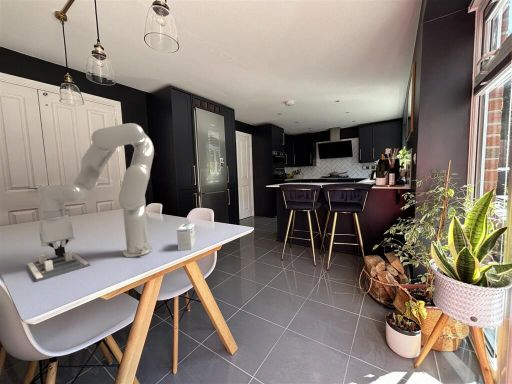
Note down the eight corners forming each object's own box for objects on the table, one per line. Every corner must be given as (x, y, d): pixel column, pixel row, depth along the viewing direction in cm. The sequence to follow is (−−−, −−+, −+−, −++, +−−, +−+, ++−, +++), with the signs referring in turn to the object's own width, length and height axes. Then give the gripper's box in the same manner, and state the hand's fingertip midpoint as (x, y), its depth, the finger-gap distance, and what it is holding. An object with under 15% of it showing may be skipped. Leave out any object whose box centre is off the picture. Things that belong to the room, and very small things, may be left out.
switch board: (89, 265, 91) (89, 261, 91) (36, 281, 79) (35, 277, 78) (73, 254, 106) (73, 250, 106) (26, 266, 93) (26, 262, 93)
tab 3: (72, 260, 95) (71, 252, 95) (66, 261, 93) (65, 253, 93) (70, 258, 96) (69, 251, 96) (65, 260, 95) (64, 252, 95)
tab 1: (47, 262, 93) (46, 255, 93) (40, 264, 91) (39, 256, 91) (46, 261, 94) (44, 253, 94) (39, 263, 93) (38, 255, 92)
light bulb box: (183, 243, 116) (181, 224, 115) (196, 242, 116) (194, 223, 115) (177, 250, 105) (176, 229, 104) (191, 249, 106) (190, 228, 105)
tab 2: (53, 269, 86) (52, 261, 85) (46, 271, 84) (45, 263, 84) (52, 268, 87) (51, 259, 87) (45, 270, 86) (44, 261, 85)
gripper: (74, 210, 99) (79, 249, 101) (27, 217, 87) (34, 260, 89) (79, 211, 94) (84, 252, 96) (30, 219, 83) (37, 264, 84)
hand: (60, 256), depth 93 cm, fingers closed
